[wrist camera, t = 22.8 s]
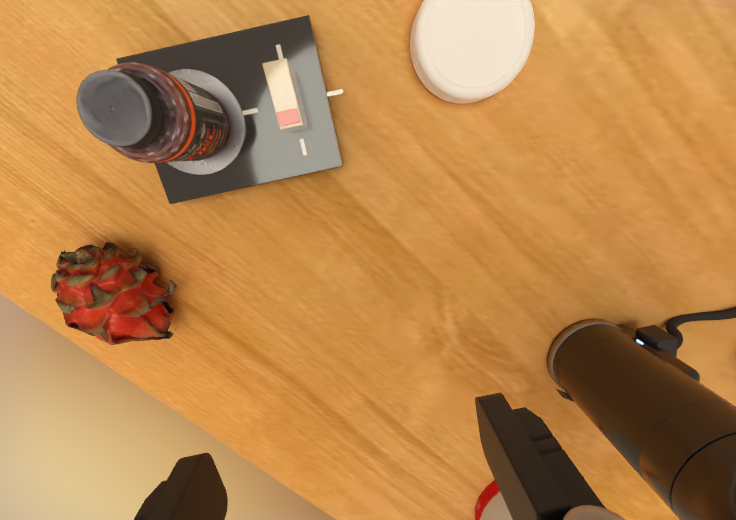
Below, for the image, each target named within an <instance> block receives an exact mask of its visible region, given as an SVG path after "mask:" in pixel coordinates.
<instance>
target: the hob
mask: <svg viewBox="0 0 736 520" xmlns="http://www.w3.org/2000/svg"><path fill="white" fill-rule="evenodd" d="M284 58H287V60H288V61H289V63H290V64H291V66H292V67H293V68H294V70H295V71H296V75H297V79H298V83H299V87H300V91H301V96H302V100H303V104H304V108H305V112H306V116H307V120H308V124H309V128H308V129H304V130H300V131H295V132H291V133H289V132H286V131H282V130H280V128H279V125H278V121H277V117H276V113H275V110H274V106H273V102H272V99H271V95H270V91H269V87H268V84H267V80H266V76H265V72H264V69H263V65H262V64H263V63H266V62H271V61H275V60H279V59H284ZM116 60H117V63H118V64H121V63H129V62H136V63H142V64H146V65H150V66H153V67H155V68H157V69H160V70H162V71H164V72H166V73H169V72H171V71H175V70H180V69H193V70H199V71H202V72H205V73H207V74H210V75H212V76H213V77H215V78H217V79H218V80H220V81H221V82H222V83H224V84H225V85H226V86H227V87H228V88H229V89H230V90H231V92H232V93H233V94H234V96H235V97H236V99H237V100H238V102H239V104H240V106H241V109H242V113H243V116H244V120H245V138H244V142H243V146H242V148H241V150H240V153H239V154H238V156H237V157H236V158H235V160H234V161H233V162H232V163H231V164H230V165H228V166H227V167H226V168H224V169H222V170H220V171H218V172H215V173H212V174H205V175H196V174H189V173H185V172H183V171H180V170H178V169H176V168H174V167H172V166H171V165H169V164H168V163H166V162H162V163H155V165H156V168H157V171H158V173H159V176H160V179H161V182H162V184H163V187H164V190H165V192H166V195H167V198H168V200H169V203H170V204H173V203H178V202H182V201H187V200H191V199H196V198H200V197H205V196H209V195H214V194H219V193H223V192H228V191H232V190H237V189H241V188H246V187H251V186H255V185H260V184H264V183H269V182H273V181H278V180H282V179H287V178H292V177H296V176H301V175H305V174H310V173H314V172H319V171H323V170H328V169H333V168H337V167H342V166H343V161H342V156H341V152H340V147H339V143H338V138H337V134H336V129H335V125H334V120H333V116H332V111H331V107H330V102H329V98H328V97H330V96H334V95H339V94H343V89H339V90H335V91H330V92H327V89H326V84H325V80H324V75H323V71H322V66H321V62H320V57H319V53H318V48H317V44H316V39H315V35H314V30H313V26H312V23H311V20H310V17H309V15H308V16H303V17H299V18H295V19H290V20H286V21H281V22H277V23H272V24H268V25H264V26H259V27H255V28H250V29H246V30H241V31H237V32H233V33H228V34H224V35H219V36H215V37H211V38H206V39H202V40H197V41H193V42H188V43H184V44H180V45H175V46H171V47H166V48H162V49H157V50H153V51H149V52H144V53H140V54H135V55H131V56H126V57H122V58H118V59H116Z"/></svg>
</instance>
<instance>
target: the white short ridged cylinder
mask: <svg viewBox="0 0 736 520" xmlns="http://www.w3.org/2000/svg"><path fill="white" fill-rule="evenodd" d="M534 31H535V21H534V13H533V8H532V4H531V2H530V0H423V2H422V4H421V6H420V8H419V11H418V12H417V14H416V17H415V20H414V22H413V26H412V30H411V37H410V52H411V59H412V63H413V66H414V69H415V71H416V73H417V75H418V77H419V79H420V80H421V82H422V83H423V84H424V86H425V87H426V88H427V89H428V90H429V91H430V92H431V93H433V94H434V95H435V96H437V97H438V98H440V99H442V100H445V101H448V102H451V103H456V104H467V103H473V102H477V101H480V100H482V99H485V98H488V97H490V96H492V95H495V94H496V93H498V92H500V91H501V90H503V89H504V88H505V87H507V86H508V85H509V84H510V83H511V82H512V81H513V80H514V79H515V77H516V76H517V75H518V74H519V72H520V71H521V69H522V68H523V66H524V64H525V63H526V60H527V58H528V56H529V54H530V51H531V48H532V44H533V39H534Z"/></svg>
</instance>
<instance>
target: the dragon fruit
mask: <svg viewBox="0 0 736 520" xmlns="http://www.w3.org/2000/svg"><path fill="white" fill-rule="evenodd" d="M129 251H130V252H132V251H136V252H137V254H136V255H135V256H134V257H132V258H129V259H121V258H120V256H119V253H120V252H119V249H118V248H117V246H116V245H115V244H114V243H110V242H106V244H105V246H104V248H103V249H100V248H99V247H96V246H93V245H86V246H83V247H80V248H78V249H77V250H76V252H67V253H66V252H65V251H64V252H62V251H61V254H60V256H59V258H58V261H57V268H58V269H59V270H57V271H56V273H55V274H53V275H52V278H51V288H52V291H53V292H55V293H57V296H58V297H57V298H56V302H57V304H58V306H59V307H60V309H61V310H62V311H63V315H64V319H65V323H66V325H67V326H68V327H71V328H74V329H78V330H80V331H83V332H85V333H87V334H89V335H93V336H96V337H97V338H99V339H100V340H103V341H105V342H107V343H108V344H110V345H115V344H121V343H125V342H130V341H144V340H151V339H153V340H159V339H163V338H164V339H169V338H170V337H172V335H173V333H170V332H171V331H170V332H167V331H168V328H169V326H170V320H171V319H172V315H173V312H174V309H173V308H171V307H170V304H169V302H168V300H167V299H166V298H165V297H167V296H168V295H169V294H171V295H173V294H174V288H176V284H175V282H174V281H173V280H170V283H169V286H168V289H165V288H160V287H157V286H155V285H154V284H153V283H152V282H153V280H154V278H156V277H157V276H158V270H157V268H156V267H152V266H150V265H148V264H143V265H141V264H140V262H141V261H142V255H141V253H140V251H139V250H138V249H135V248H133V249H130V250H129ZM145 270H149V271H150V272H152V273H147V272H146V271H145ZM162 297H163V298H162ZM164 301H166V302H164ZM162 302H163V304H164V306H165V308H166V309H167V310H168V312H169V313H168V312H167V311H166V310H165V308H164V307H163V306H162V304H161V303H162ZM177 327H178V326H177Z"/></svg>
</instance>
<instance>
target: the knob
mask: <svg viewBox="0 0 736 520" xmlns="http://www.w3.org/2000/svg"><path fill="white" fill-rule="evenodd" d="M262 65H263V69H264V72H265V76H266V80H267V84H268V87H269V91H270V95H271V99H272V102H273V106H274V110H275V113H276V117H277V121H278V125H279V128H280V130H282V131H286V132H289V133H291V132H295V131H300V130H304V129H308V128H309V124H308V120H307V116H306V112H305V108H304V104H303V100H302V96H301V91H300V87H299V83H298V79H297V75H296V71H295V70H294V68H293V67H292V66H291V64H290V63H289V61H288V60H287V58H284V59H279V60H275V61H271V62H266V63H263V64H262Z"/></svg>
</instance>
